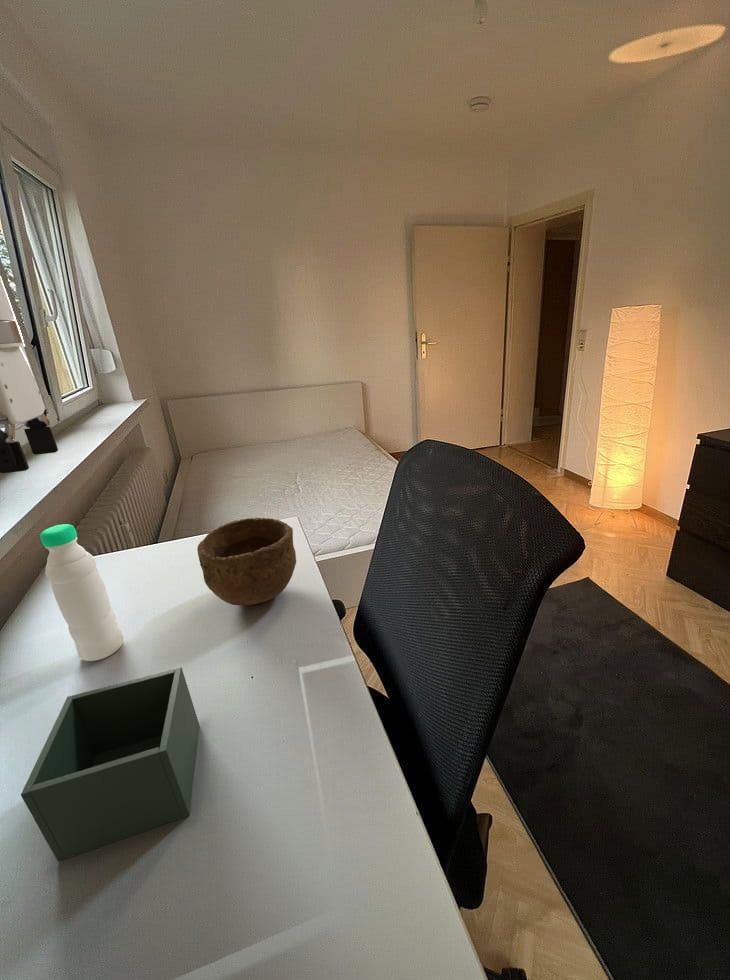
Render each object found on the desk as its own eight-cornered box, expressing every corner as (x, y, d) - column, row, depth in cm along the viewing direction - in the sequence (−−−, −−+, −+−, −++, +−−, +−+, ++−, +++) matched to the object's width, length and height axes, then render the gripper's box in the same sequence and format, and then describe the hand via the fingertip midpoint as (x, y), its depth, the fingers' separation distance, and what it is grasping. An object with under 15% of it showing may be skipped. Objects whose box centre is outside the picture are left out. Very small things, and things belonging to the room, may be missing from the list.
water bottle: (86, 642, 84) (38, 524, 75) (128, 632, 86) (86, 516, 77) (75, 668, 78) (21, 542, 69) (120, 656, 80) (74, 532, 71)
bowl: (304, 612, 89) (293, 547, 83) (205, 633, 85) (186, 565, 79) (300, 566, 106) (291, 510, 100) (217, 581, 102) (203, 523, 96)
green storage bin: (57, 862, 49) (20, 795, 45) (94, 756, 61) (67, 696, 57) (189, 815, 53) (166, 750, 49) (199, 725, 65) (181, 666, 61)
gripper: (-13, 337, 65) (29, 450, 71) (-99, 340, 49) (-35, 484, 55) (46, 334, 67) (82, 444, 73) (-18, 336, 51) (34, 475, 57)
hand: (31, 461), depth 64 cm, fingers open, 9 cm apart
